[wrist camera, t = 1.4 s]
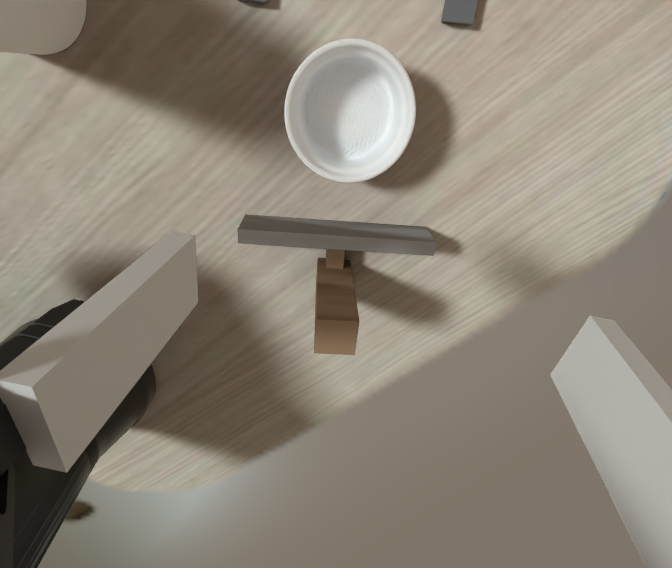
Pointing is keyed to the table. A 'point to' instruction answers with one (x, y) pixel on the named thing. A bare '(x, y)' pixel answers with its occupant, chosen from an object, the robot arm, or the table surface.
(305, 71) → the ramekin
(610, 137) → the table surface
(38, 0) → the cup
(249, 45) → the table surface
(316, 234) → the scraper
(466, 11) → the frame
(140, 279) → the robot arm
